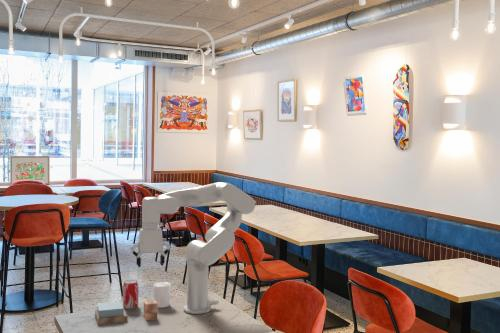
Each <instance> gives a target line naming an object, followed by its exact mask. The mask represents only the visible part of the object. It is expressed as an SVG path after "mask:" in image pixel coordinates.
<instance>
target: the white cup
mask: <svg viewBox="0 0 500 333" xmlns="http://www.w3.org/2000/svg"><path fill="white" fill-rule="evenodd" d="M171 285H172V283H171V282H167V281H166V282H165V281H158V282H155V283H153V286H152V287H153V300H156V302H157V303H158V308H160V309H161V308H162V309H163V308H167V307H169V306H170V300H171Z"/></svg>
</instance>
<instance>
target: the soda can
mask: <svg viewBox="0 0 500 333" xmlns="http://www.w3.org/2000/svg"><path fill="white" fill-rule="evenodd" d="M139 290H140V289H139V283H138V280H135V279H126V280H124V283H123V284H122V306H123V307H124V309H127V310H132V309H136V308H137V307H138V306H139Z"/></svg>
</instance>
